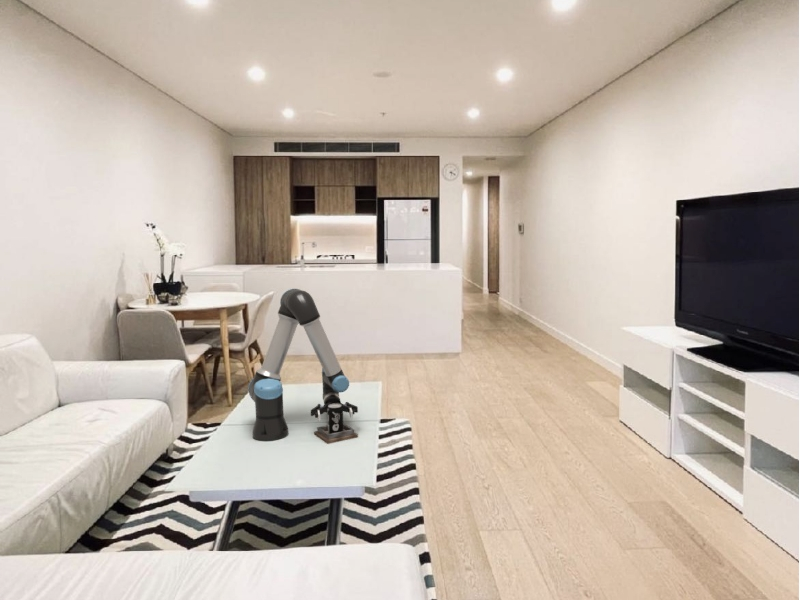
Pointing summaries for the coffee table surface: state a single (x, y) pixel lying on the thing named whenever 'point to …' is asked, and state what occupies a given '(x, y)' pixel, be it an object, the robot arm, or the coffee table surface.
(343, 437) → the tray
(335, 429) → the beverage can
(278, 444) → the coffee table surface
